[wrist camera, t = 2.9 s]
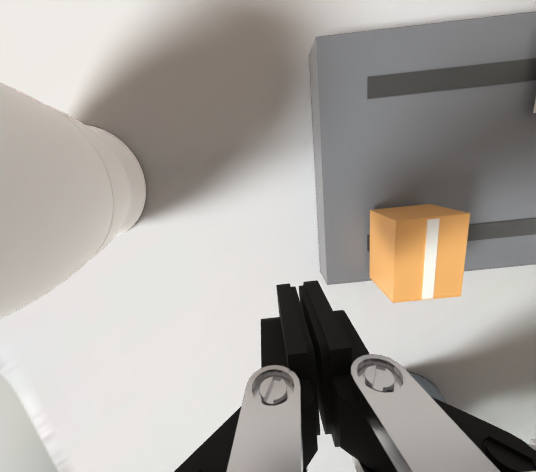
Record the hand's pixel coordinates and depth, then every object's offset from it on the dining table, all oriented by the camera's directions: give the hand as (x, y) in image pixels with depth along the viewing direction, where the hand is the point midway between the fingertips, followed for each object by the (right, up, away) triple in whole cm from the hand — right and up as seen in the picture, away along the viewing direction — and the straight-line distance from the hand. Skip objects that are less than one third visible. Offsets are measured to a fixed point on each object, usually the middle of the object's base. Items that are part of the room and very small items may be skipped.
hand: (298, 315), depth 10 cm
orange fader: (+8, +3, +7) cm, 11 cm away
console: (+13, +9, +9) cm, 18 cm away
